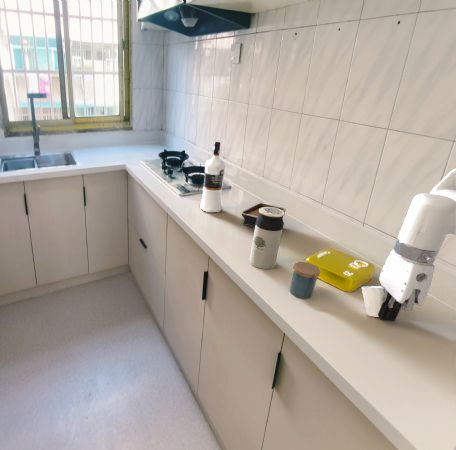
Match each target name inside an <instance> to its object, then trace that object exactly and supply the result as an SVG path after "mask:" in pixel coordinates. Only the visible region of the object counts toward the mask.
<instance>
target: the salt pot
mask: <svg viewBox="0 0 456 450" xmlns="http://www.w3.org/2000/svg"><path fill="white" fill-rule="evenodd" d="M319 274H320V269H319V268H318V267H317V266H315V265H313V264H311V263H307V262H306V261H297V262H295V263H294V264H293V273H292V277H291V281H290V287H289V293H290V294H291V295H292V296H293V297H295V298H298V299H301V300H309V299H312V298H313V296H314V291H315V288H316V284H317V280H318V278H317V277H318V276H319Z"/></svg>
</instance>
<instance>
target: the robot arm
mask: <svg viewBox="0 0 456 450" xmlns="http://www.w3.org/2000/svg"><path fill="white" fill-rule="evenodd" d="M450 234H451V235H456V167H455V168H454V169H452V170H451V171H450V172H449V173H447V174H446V175H445V176H444V177H443V178H442V179H441V180H440V181H439V182H437V184H436V185H435V186H434V187H433V188H432V190H430V192H422V193H421V192H420V193H418V194H416V195H415V196H414V197H413V198H412V199H411V203H410V206H409V207H408V210H407V212H406V215H405V217H404V220H403V223H402V225H401V228H400V230H399V233H398V235H397V238H396V241H395V243H394V246H393V248H392V250H391V251H390V253H389V255H388V256H387V258H386V260H385V262H384V264H383V267H382V268H381V271H380V274H379V278H378V281H379V283H380V286H382V288H384V295H383V298H382V300H383V301H384V302H383V303H382V306H381V308H380V310H379V313H378V316H379V317H378V318H379V319H380V320H381V321H387V322H395V321H396V319H397V317H398V315H399V313H400V310H402V311H404V312H413V309H414V304H415V305H416V306H422V305H423V304H424V302H425V300H426V299H427V298H426V297H427V296H428V293H429V290H430V287H431V285H432V281H433V278H434V273H435V265H434V263H435V261H436V259H437V257H438V255H439V252H440V250H441V248H442V246H443V243H444V241H445V239H446V237H447V236H448V235H450Z"/></svg>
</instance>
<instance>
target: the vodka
mask: <svg viewBox="0 0 456 450" xmlns="http://www.w3.org/2000/svg"><path fill="white" fill-rule="evenodd" d="M220 152H221V141H214V142H213V152H212V153H213V154H212V157H211V158H210V159H208V160H206V161H205V164H204V179H203V187H202V196H201V197H202V198H201V201H200V205H199V206H200V210H201V209H202V210H203V211H202V210H201V211H202V212H204V211H206V212H205V213H207V212H217V213H219V212H221V210H222V195H223V194H222V193H223V185H224V176H225V169H226V163H225V162H224V160H222V159H221V158H220Z"/></svg>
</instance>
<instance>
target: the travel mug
mask: <svg viewBox="0 0 456 450" xmlns="http://www.w3.org/2000/svg"><path fill="white" fill-rule="evenodd" d="M259 212H260V215H259V217H258V218H257V220H256V226H255V228H254V232H253V236H252V237H253V238H252V243H251V248H250V249H251V250H250V255H249V263H250V264H251V265H252V266H254V267H256V268H258V269H263V270H270V269H273V268H275V267H276V264H277V260H278V254H279V248H280V245H281V239H282V234H283V230H284V225H285V222H284V216H285V214H286V211H285V212H284V211H282V210H280V209H278V208H273V207H262V208H260V209H259ZM282 218H283V219H282Z"/></svg>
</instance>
